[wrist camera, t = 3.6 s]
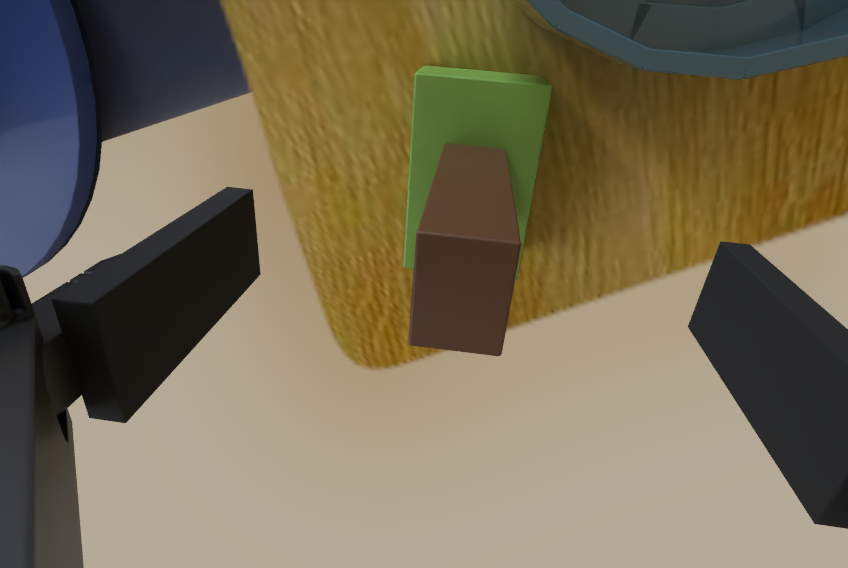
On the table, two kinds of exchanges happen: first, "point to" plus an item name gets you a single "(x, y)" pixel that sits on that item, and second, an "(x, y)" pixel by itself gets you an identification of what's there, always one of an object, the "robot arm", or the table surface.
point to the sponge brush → (470, 201)
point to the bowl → (701, 33)
